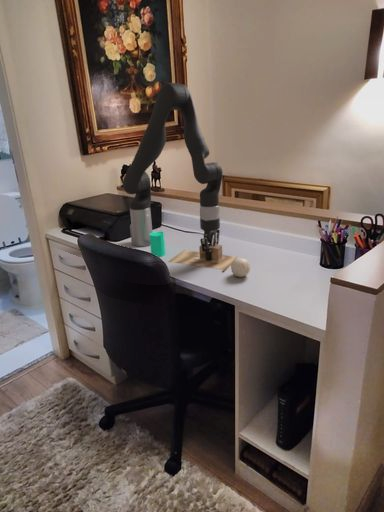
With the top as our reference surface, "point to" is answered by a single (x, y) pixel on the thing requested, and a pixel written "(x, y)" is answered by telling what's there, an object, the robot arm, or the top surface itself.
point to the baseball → (240, 267)
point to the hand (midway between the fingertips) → (211, 258)
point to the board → (194, 259)
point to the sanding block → (212, 254)
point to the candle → (157, 243)
